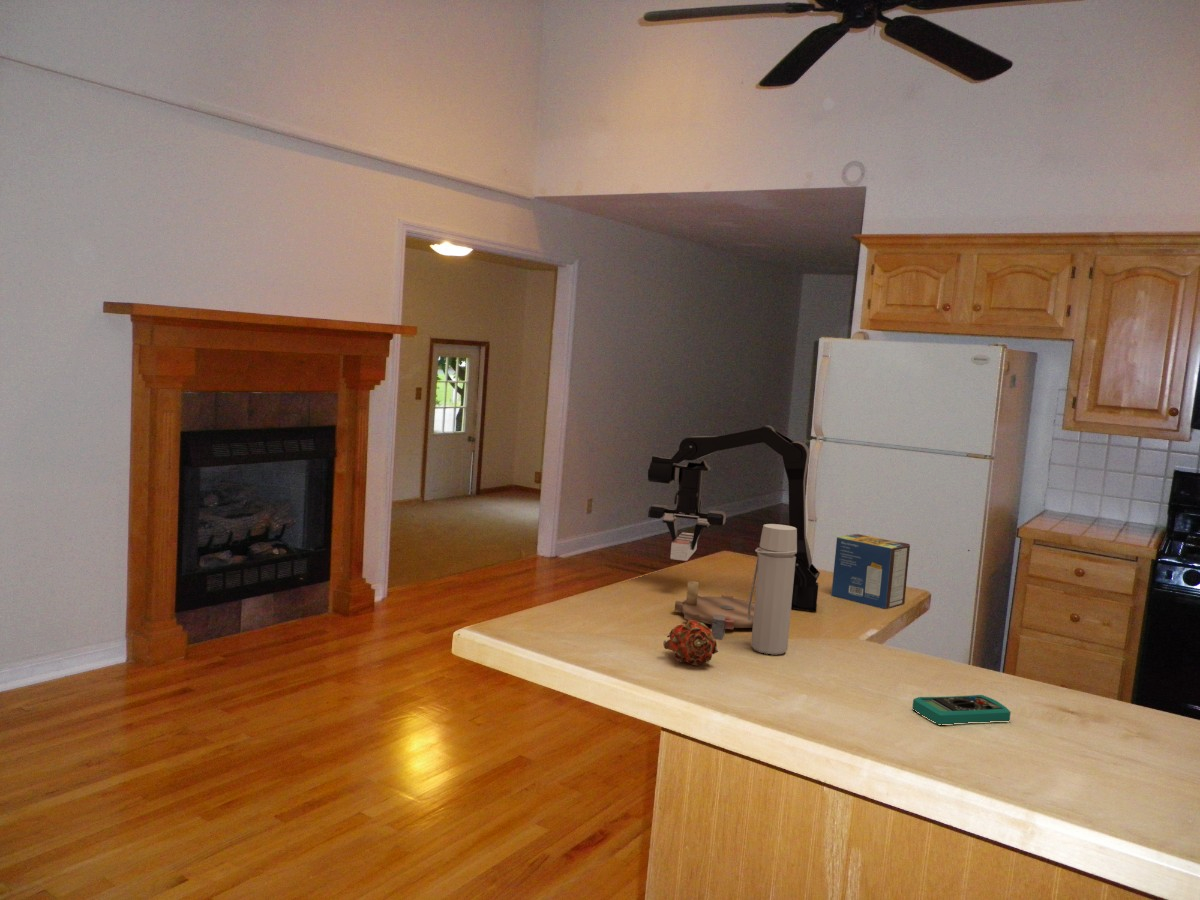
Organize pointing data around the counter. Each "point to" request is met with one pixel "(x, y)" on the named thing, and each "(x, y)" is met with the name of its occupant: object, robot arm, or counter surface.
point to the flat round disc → (715, 608)
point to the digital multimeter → (961, 709)
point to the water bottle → (773, 588)
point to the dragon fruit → (692, 643)
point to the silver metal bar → (682, 547)
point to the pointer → (718, 626)
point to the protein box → (870, 570)
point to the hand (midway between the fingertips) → (684, 548)
